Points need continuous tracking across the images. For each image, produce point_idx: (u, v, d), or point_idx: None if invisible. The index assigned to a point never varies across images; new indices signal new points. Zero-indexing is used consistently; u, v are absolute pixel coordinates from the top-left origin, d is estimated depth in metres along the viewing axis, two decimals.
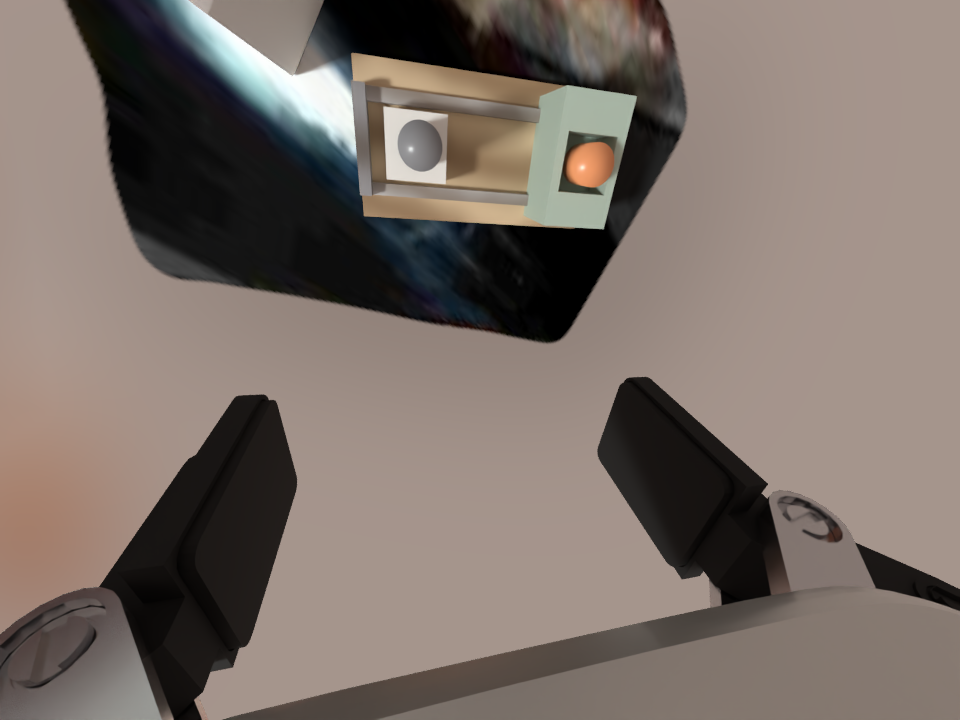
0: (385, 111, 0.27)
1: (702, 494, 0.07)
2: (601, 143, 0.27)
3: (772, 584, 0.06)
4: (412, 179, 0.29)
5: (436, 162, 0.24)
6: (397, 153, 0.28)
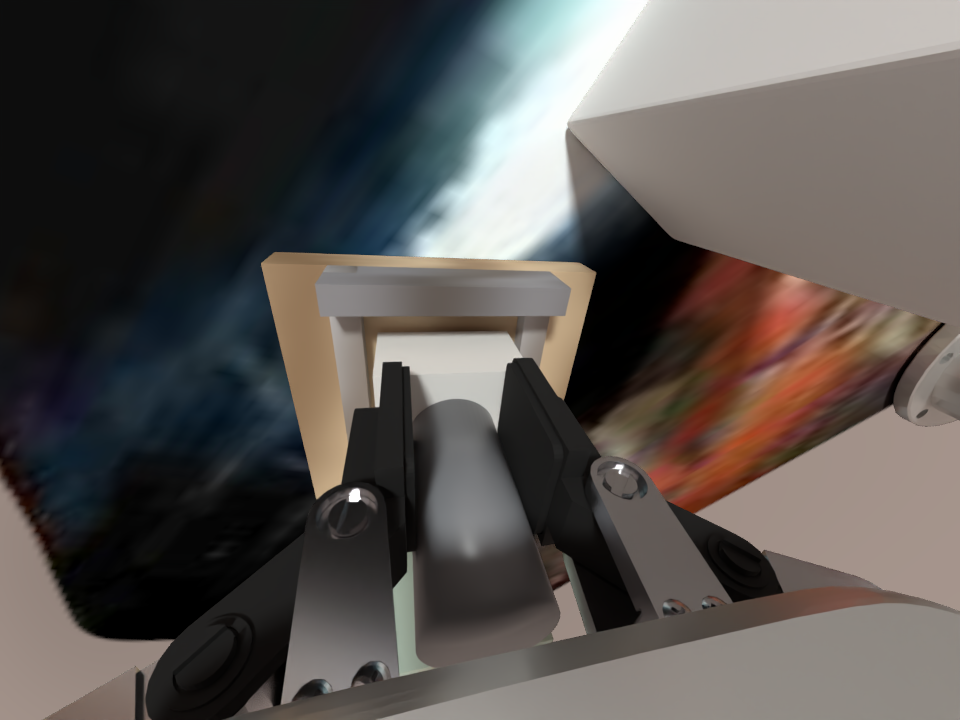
0: None
1: (544, 461, 0.08)
2: None
3: (621, 569, 0.06)
4: None
5: None
6: (437, 398, 0.11)
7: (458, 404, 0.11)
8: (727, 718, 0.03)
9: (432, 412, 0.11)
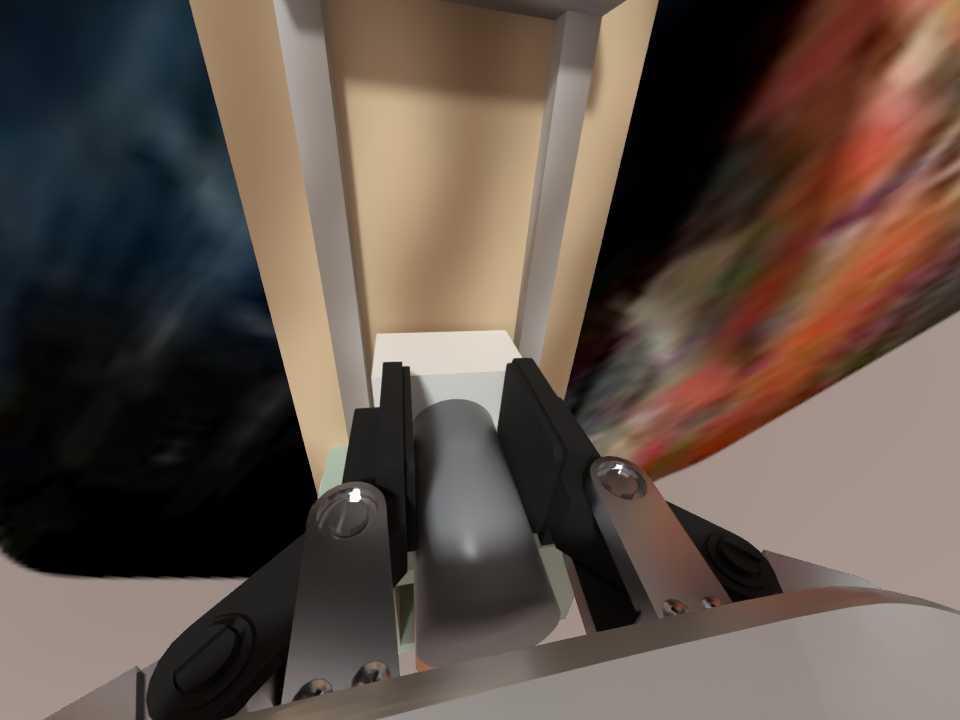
0: None
1: (544, 461, 0.08)
2: None
3: (620, 569, 0.06)
4: None
5: None
6: (436, 399, 0.11)
7: (457, 404, 0.11)
8: (727, 718, 0.03)
9: (431, 413, 0.11)
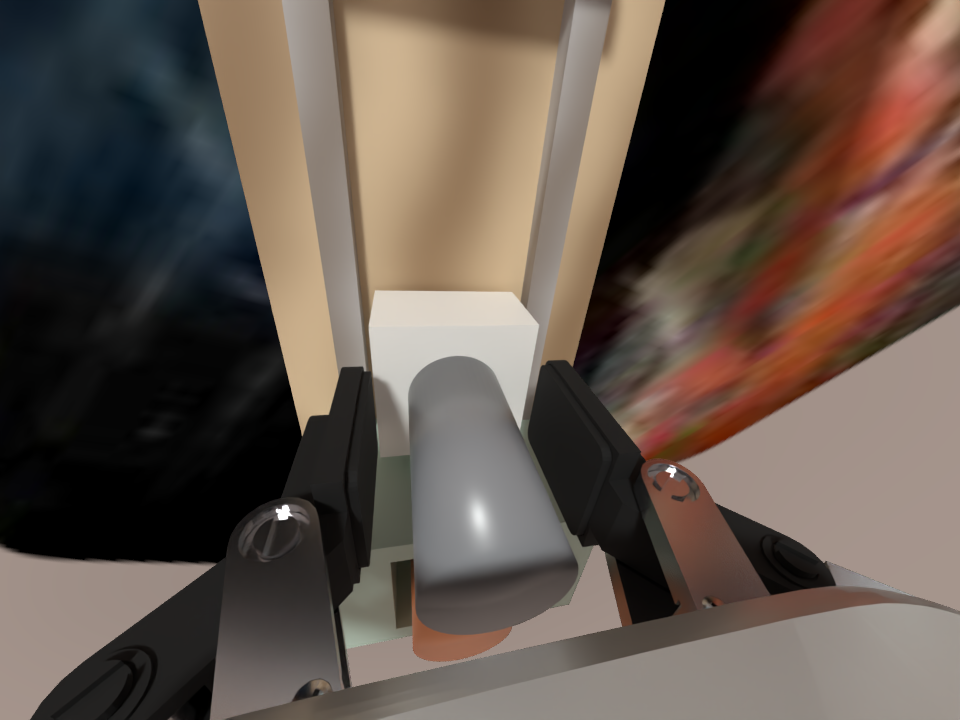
0: (529, 329, 0.10)
1: (589, 464, 0.08)
2: (509, 629, 0.11)
3: (663, 564, 0.06)
4: (379, 390, 0.11)
5: (450, 631, 0.07)
6: (439, 355, 0.10)
7: (461, 360, 0.10)
8: (727, 719, 0.03)
9: (433, 369, 0.10)
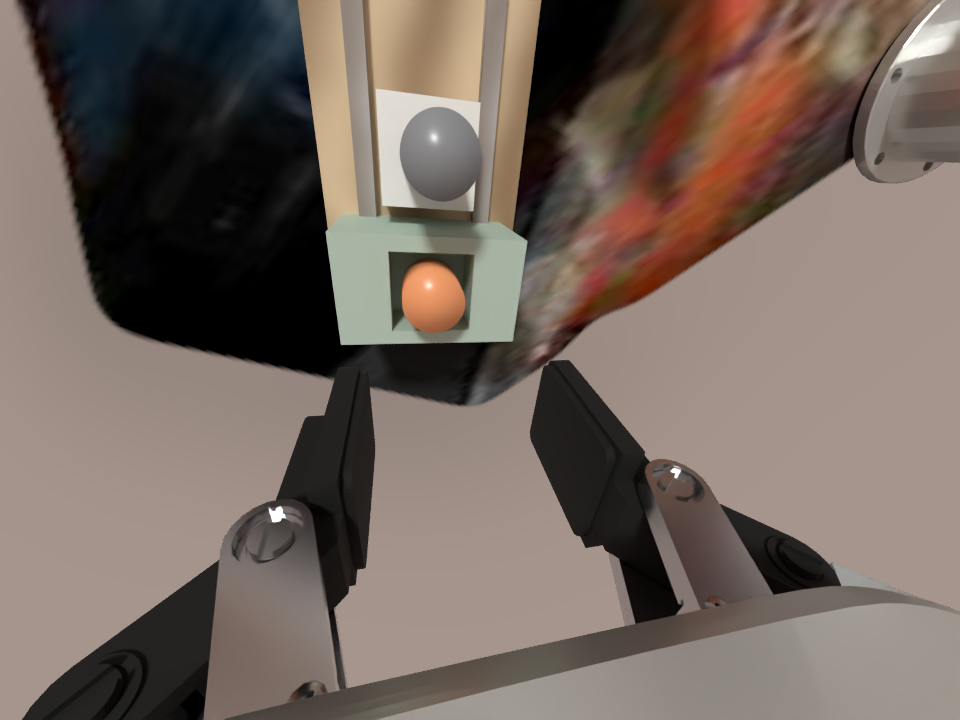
0: (474, 105, 0.17)
1: (593, 464, 0.08)
2: (463, 305, 0.18)
3: (666, 563, 0.06)
4: (381, 143, 0.17)
5: (418, 188, 0.13)
6: None
7: None
8: (727, 718, 0.03)
9: None
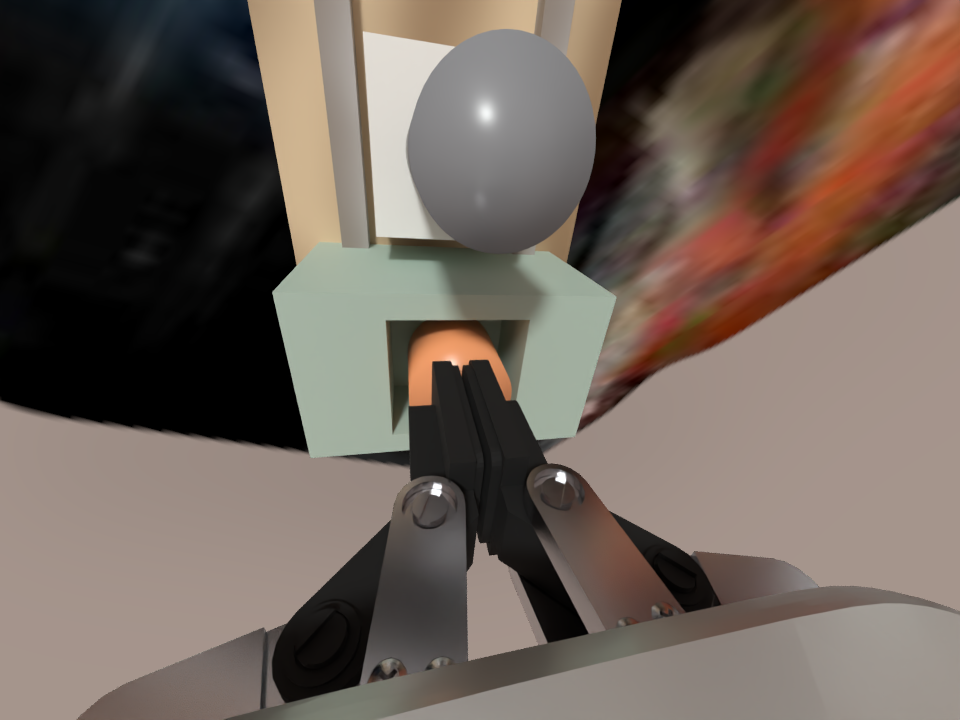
0: None
1: (485, 469, 0.07)
2: (508, 397, 0.11)
3: (569, 591, 0.05)
4: (374, 132, 0.10)
5: (450, 228, 0.06)
6: None
7: None
8: (727, 718, 0.03)
9: None
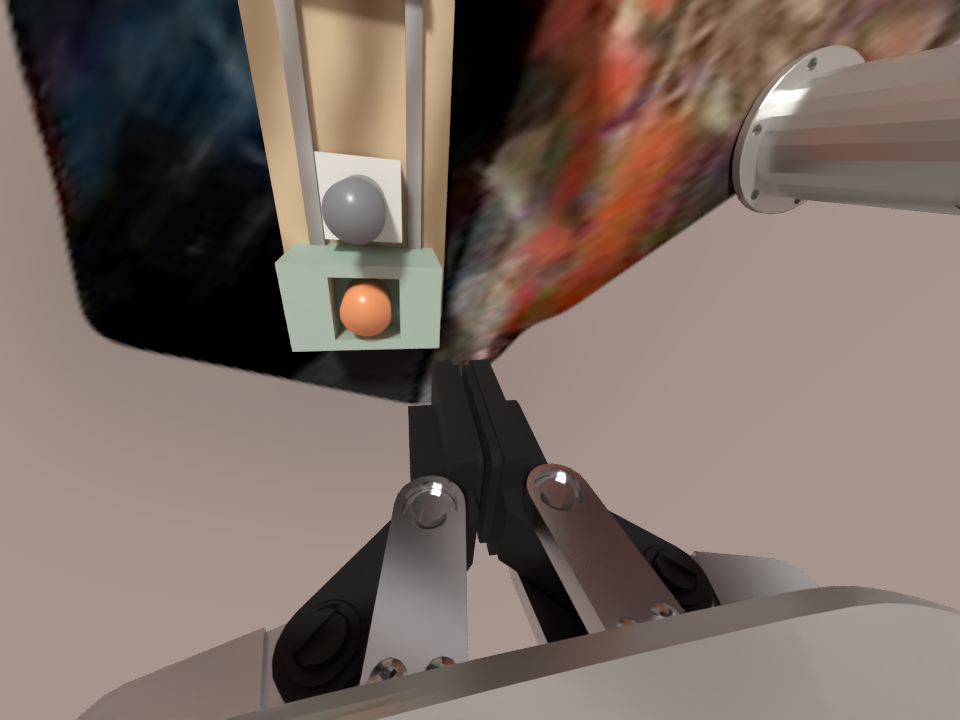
0: (395, 162, 0.21)
1: (485, 469, 0.07)
2: (389, 315, 0.23)
3: (569, 591, 0.05)
4: (321, 191, 0.21)
5: (338, 236, 0.17)
6: (350, 173, 0.21)
7: (361, 175, 0.21)
8: (727, 718, 0.03)
9: (347, 177, 0.21)
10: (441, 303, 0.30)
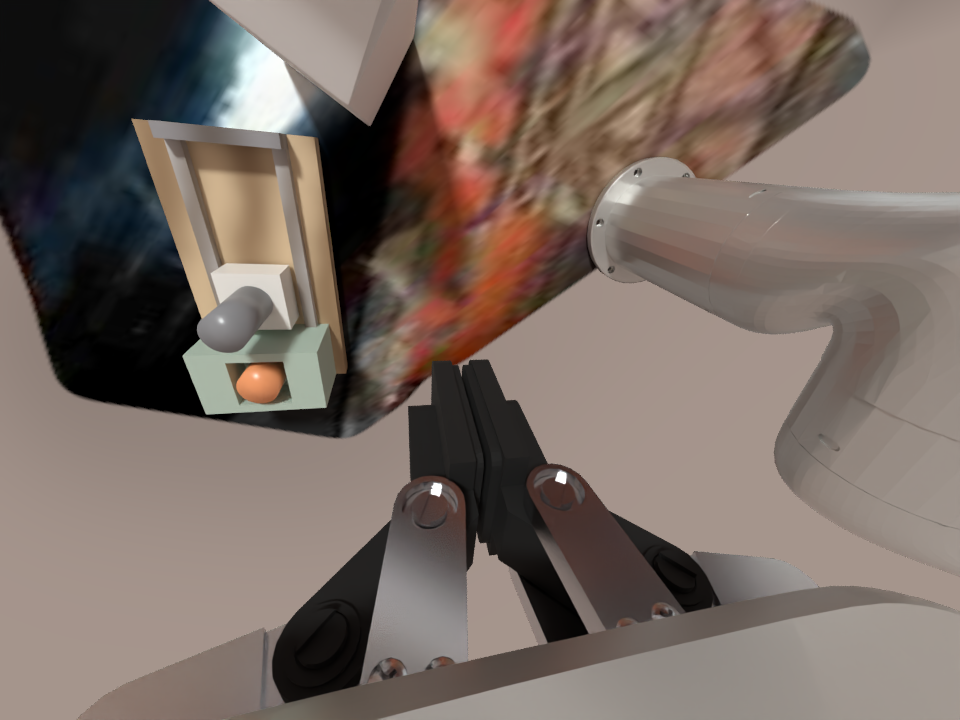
0: (275, 276, 0.28)
1: (485, 469, 0.07)
2: (277, 388, 0.30)
3: (569, 591, 0.05)
4: (220, 298, 0.28)
5: (213, 348, 0.24)
6: (241, 285, 0.28)
7: (248, 287, 0.28)
8: (727, 718, 0.03)
9: (237, 289, 0.28)
10: (343, 363, 0.37)
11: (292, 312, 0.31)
